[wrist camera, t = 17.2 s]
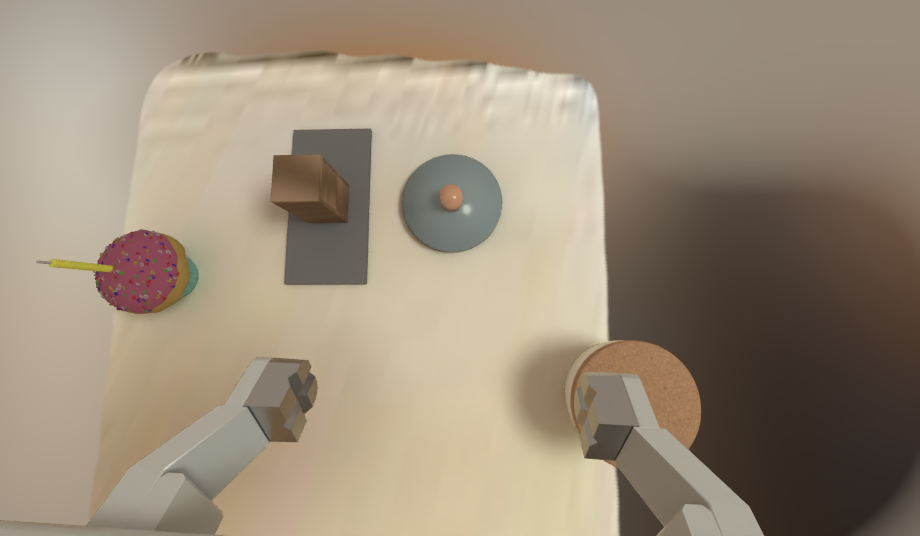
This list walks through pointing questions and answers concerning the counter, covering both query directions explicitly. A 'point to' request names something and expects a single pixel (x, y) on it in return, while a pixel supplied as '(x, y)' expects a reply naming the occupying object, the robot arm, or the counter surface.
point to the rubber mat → (333, 244)
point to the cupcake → (140, 272)
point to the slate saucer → (452, 223)
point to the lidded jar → (644, 383)
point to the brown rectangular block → (309, 189)
